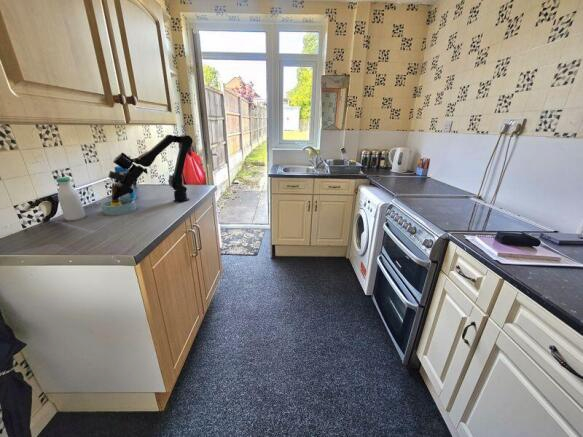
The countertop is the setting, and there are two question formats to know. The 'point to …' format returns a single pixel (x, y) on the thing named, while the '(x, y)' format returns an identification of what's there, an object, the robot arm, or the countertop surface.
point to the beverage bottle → (132, 196)
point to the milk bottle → (69, 200)
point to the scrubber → (116, 201)
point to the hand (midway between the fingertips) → (112, 198)
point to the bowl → (119, 207)
